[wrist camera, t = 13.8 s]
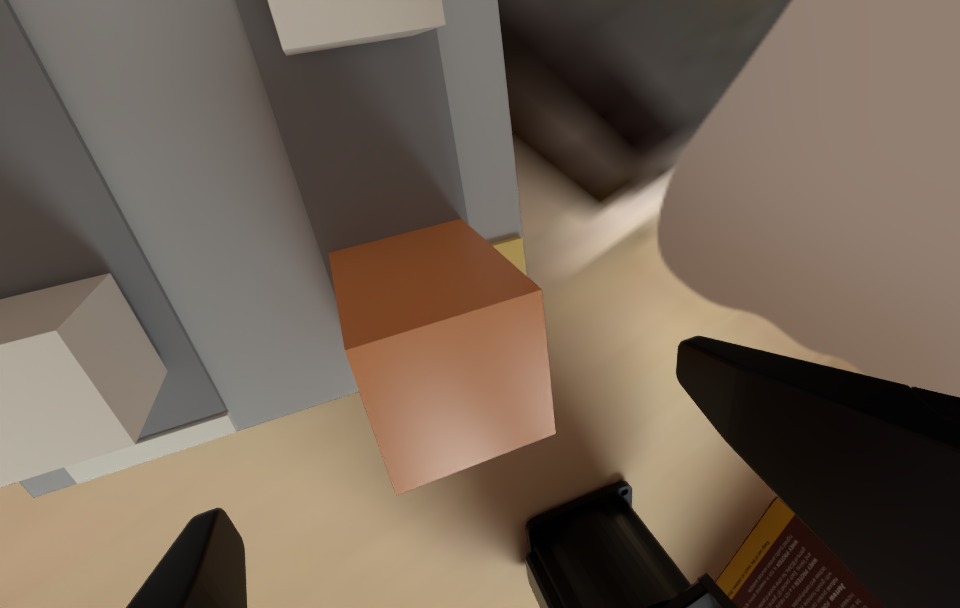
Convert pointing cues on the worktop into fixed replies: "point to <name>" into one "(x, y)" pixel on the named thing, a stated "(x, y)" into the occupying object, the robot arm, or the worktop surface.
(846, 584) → the supplement box
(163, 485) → the worktop surface
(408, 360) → the orange rectangular block
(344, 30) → the toggle
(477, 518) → the worktop surface
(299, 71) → the breaker panel
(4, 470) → the toggle
